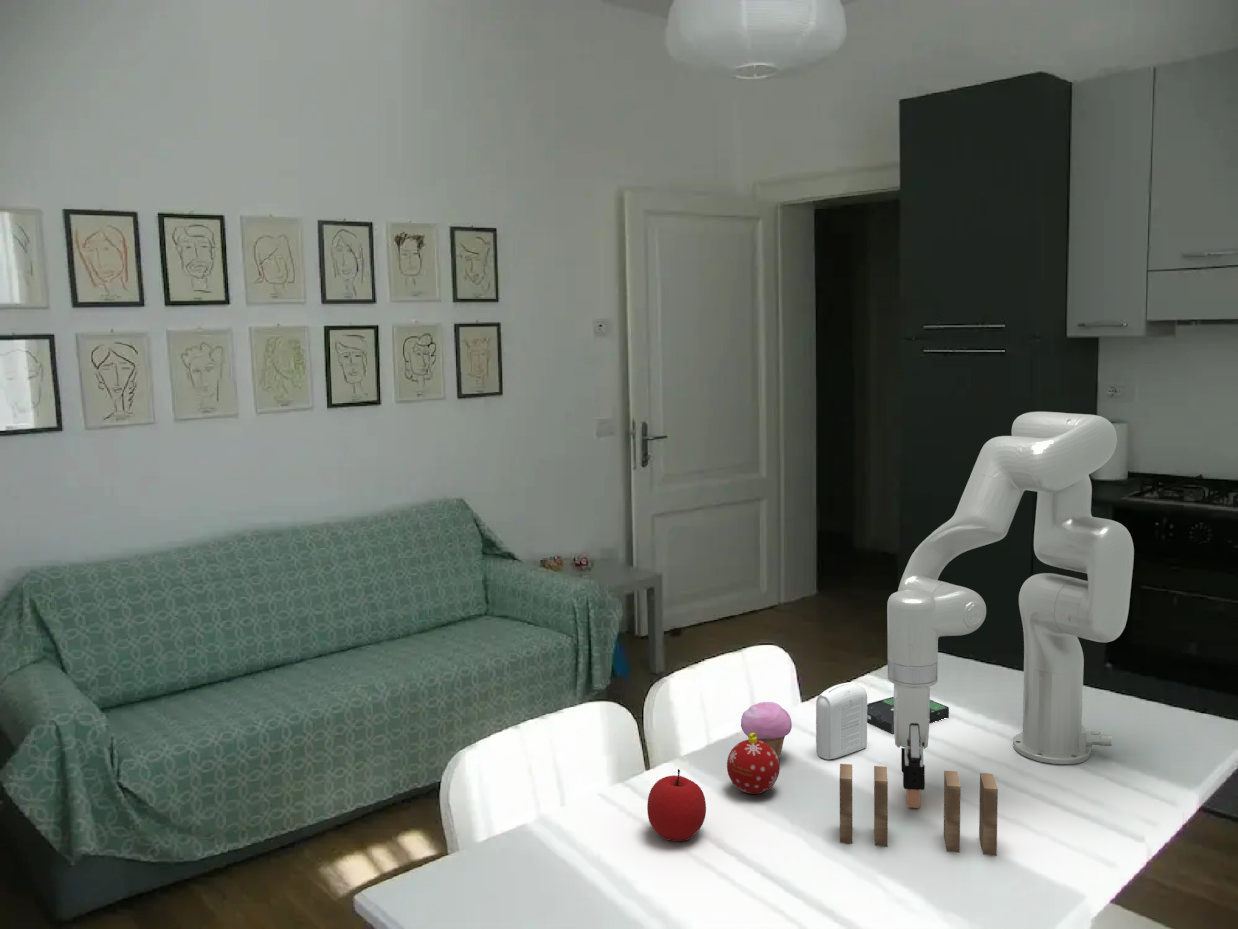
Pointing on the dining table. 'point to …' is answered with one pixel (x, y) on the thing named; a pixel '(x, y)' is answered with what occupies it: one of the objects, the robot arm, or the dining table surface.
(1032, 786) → the dining table surface
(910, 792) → the domino
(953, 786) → the domino
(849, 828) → the domino
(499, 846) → the dining table surface
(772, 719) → the cupcake
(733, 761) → the christmas ornament
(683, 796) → the apple
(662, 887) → the dining table surface
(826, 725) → the photo printer
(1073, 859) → the dining table surface
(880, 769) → the domino
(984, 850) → the domino
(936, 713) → the disk drive
